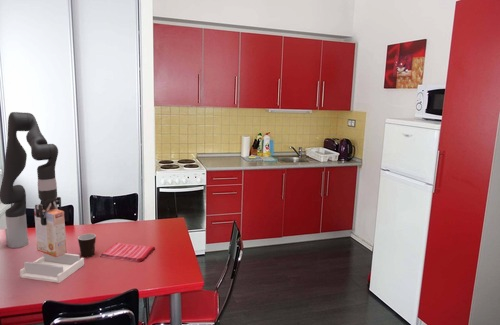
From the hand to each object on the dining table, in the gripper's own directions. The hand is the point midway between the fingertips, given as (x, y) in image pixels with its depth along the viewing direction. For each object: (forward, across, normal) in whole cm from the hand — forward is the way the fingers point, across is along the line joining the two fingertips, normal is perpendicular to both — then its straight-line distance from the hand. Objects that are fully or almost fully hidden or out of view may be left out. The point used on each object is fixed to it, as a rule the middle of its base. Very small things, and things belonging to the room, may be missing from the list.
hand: (49, 222), depth 171 cm
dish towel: (+25, -27, +24) cm, 44 cm away
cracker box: (+15, 0, 0) cm, 15 cm away
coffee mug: (+25, -21, +5) cm, 33 cm away
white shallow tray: (+24, 0, 0) cm, 24 cm away
